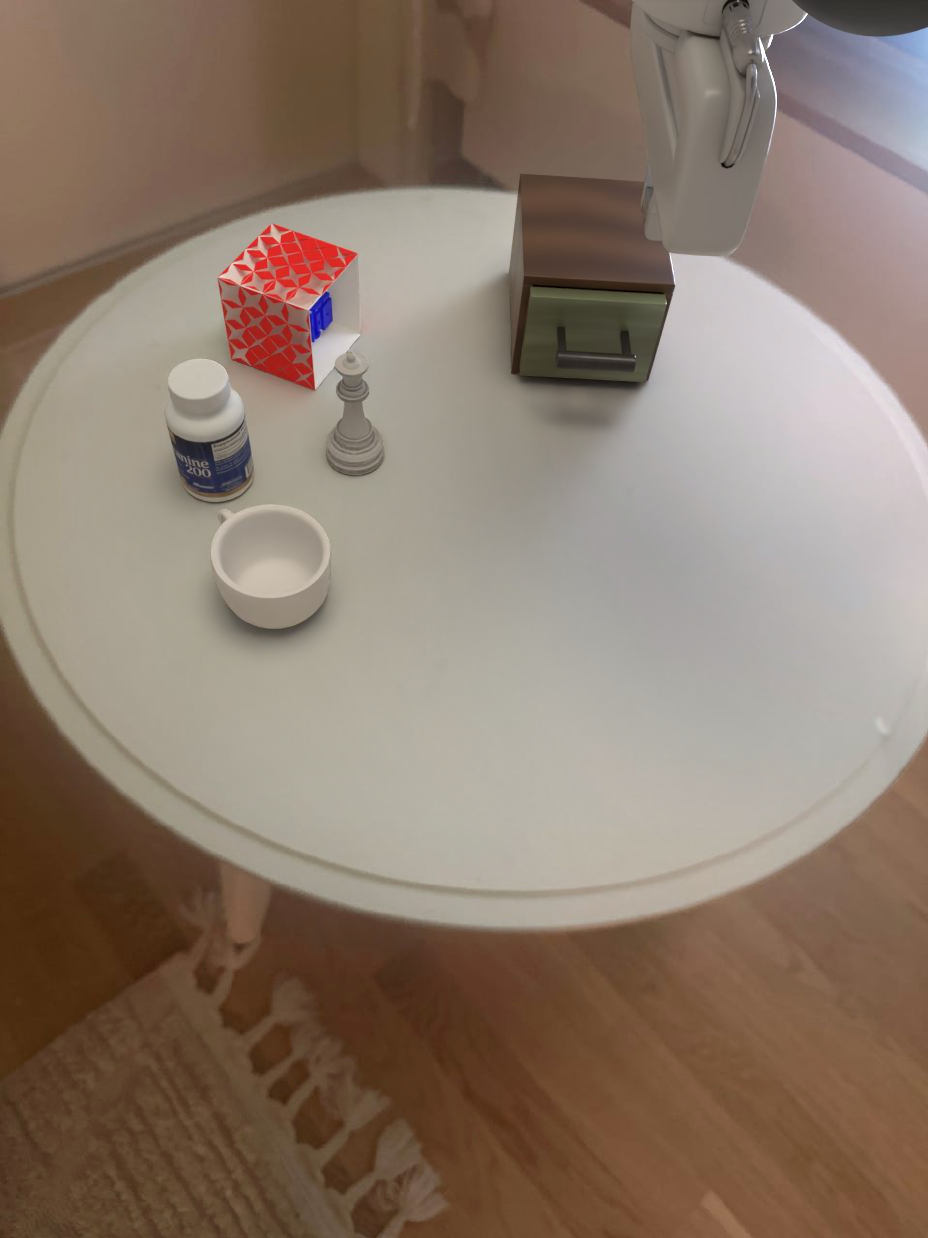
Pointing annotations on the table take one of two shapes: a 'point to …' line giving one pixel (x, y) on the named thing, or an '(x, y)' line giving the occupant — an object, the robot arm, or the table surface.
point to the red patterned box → (291, 305)
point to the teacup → (271, 564)
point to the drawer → (590, 333)
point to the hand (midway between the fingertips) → (656, 225)
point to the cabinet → (582, 244)
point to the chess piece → (354, 422)
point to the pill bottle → (208, 431)
